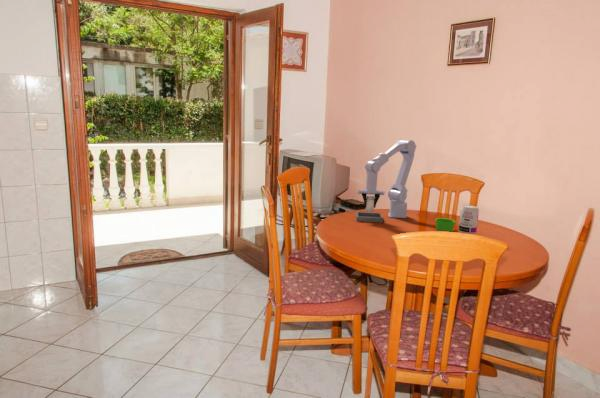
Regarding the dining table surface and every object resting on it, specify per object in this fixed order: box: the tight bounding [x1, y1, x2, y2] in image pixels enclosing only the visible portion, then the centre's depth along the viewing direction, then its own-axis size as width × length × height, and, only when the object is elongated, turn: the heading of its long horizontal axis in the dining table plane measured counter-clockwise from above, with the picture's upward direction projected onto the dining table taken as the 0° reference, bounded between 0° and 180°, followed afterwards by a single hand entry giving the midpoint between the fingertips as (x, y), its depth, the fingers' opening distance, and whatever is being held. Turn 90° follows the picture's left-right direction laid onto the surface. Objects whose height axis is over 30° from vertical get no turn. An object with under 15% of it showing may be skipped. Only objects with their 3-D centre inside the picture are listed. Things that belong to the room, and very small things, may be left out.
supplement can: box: [457, 204, 480, 235], centre depth 208 cm, size 8×8×15 cm
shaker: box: [365, 195, 375, 213], centre depth 234 cm, size 4×4×8 cm
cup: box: [434, 217, 456, 233], centre depth 194 cm, size 9×9×11 cm
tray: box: [355, 211, 384, 224], centre depth 236 cm, size 14×12×2 cm
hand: (369, 207), depth 235 cm, fingers closed on shaker, 4 cm apart
